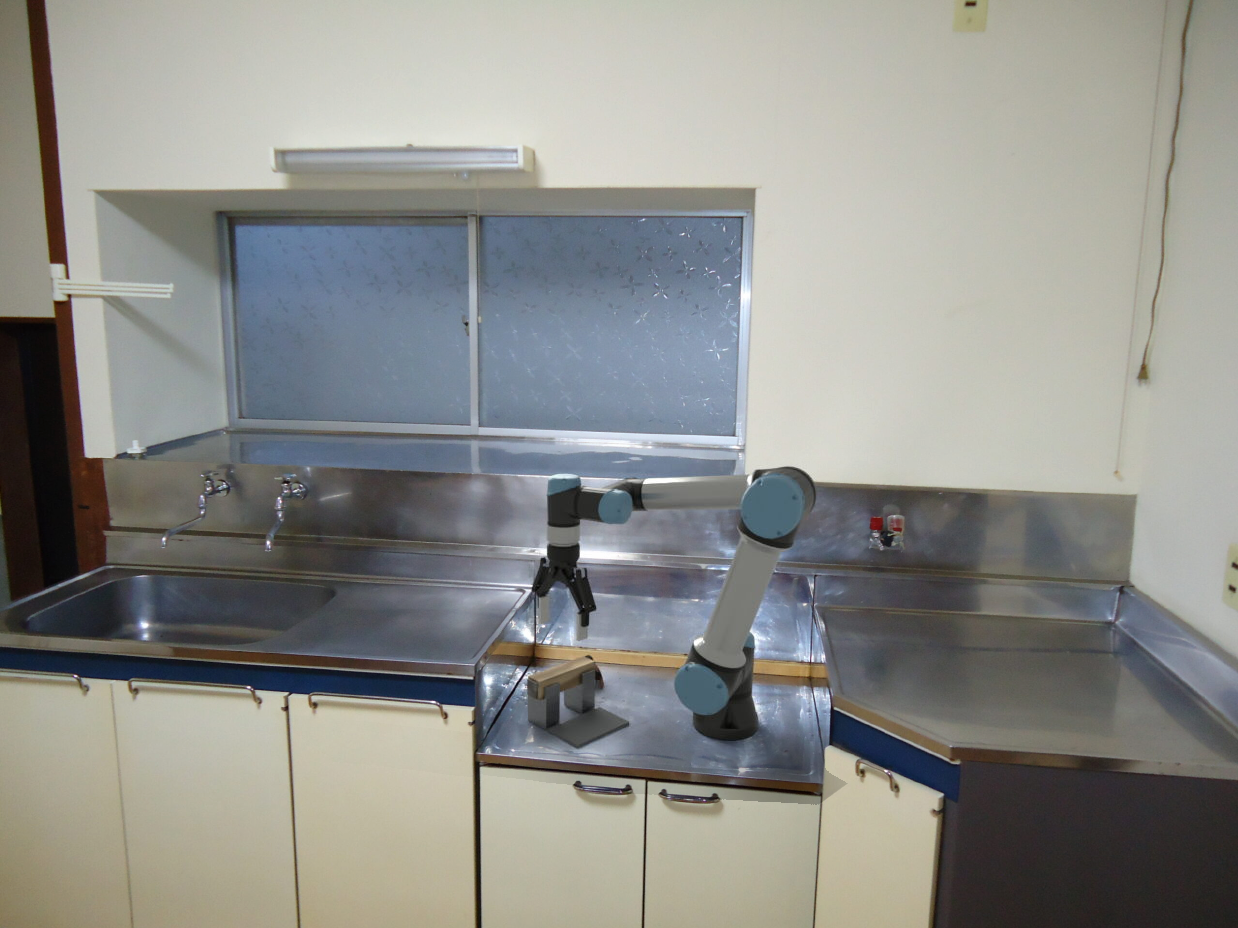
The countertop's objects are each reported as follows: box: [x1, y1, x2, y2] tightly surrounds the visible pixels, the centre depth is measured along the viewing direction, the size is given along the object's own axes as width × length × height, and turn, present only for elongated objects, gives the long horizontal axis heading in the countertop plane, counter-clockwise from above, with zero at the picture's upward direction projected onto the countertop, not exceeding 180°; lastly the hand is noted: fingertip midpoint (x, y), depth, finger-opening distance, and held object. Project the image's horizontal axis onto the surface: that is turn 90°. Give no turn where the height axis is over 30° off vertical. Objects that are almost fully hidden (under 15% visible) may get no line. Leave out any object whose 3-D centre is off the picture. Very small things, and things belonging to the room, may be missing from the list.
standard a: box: [563, 669, 596, 715], centre depth 194 cm, size 7×4×10 cm, turn 45°
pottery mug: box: [584, 654, 605, 690], centre depth 208 cm, size 12×10×8 cm
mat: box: [547, 706, 630, 749], centre depth 185 cm, size 10×16×1 cm, turn 135°
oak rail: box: [526, 656, 596, 700], centre depth 190 cm, size 4×18×4 cm, turn 135°
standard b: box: [527, 682, 561, 731], centre depth 187 cm, size 7×4×10 cm, turn 45°
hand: (562, 630), depth 188 cm, fingers open, 13 cm apart
